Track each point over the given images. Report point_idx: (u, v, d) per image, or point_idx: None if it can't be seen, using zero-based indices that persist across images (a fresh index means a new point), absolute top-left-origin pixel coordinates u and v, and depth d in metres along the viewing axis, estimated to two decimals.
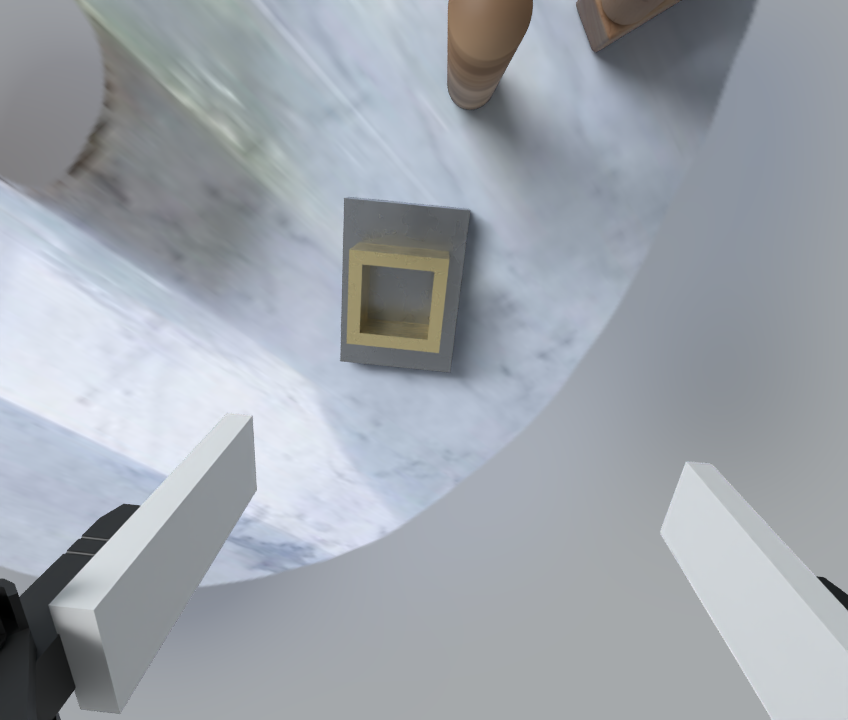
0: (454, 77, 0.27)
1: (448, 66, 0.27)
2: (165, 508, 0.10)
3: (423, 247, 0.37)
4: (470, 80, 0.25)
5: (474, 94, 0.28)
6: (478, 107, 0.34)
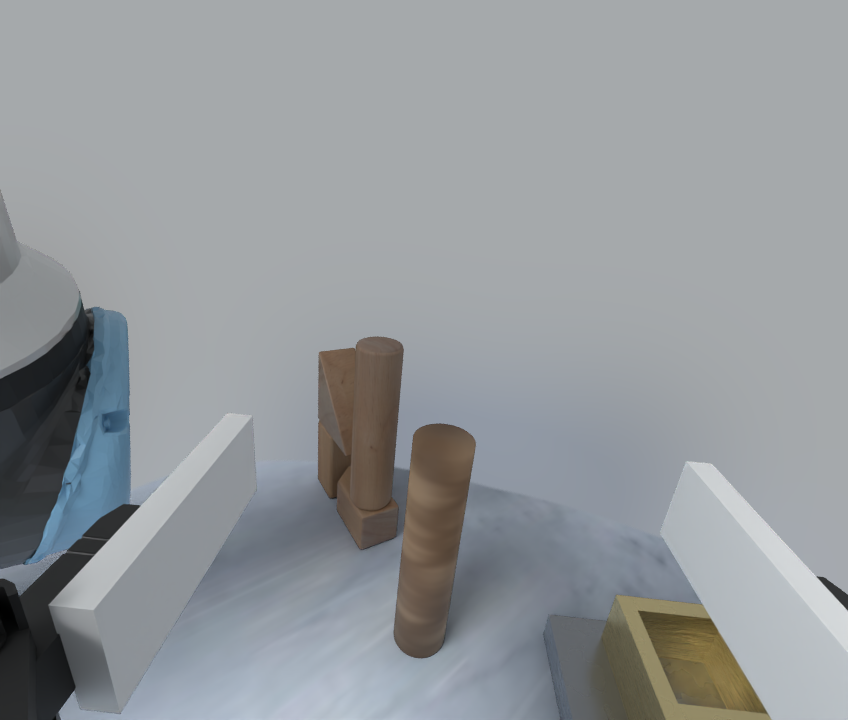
0: (451, 557, 0.28)
1: (439, 570, 0.27)
2: (165, 508, 0.10)
3: (609, 668, 0.29)
4: (463, 518, 0.27)
5: None
6: None
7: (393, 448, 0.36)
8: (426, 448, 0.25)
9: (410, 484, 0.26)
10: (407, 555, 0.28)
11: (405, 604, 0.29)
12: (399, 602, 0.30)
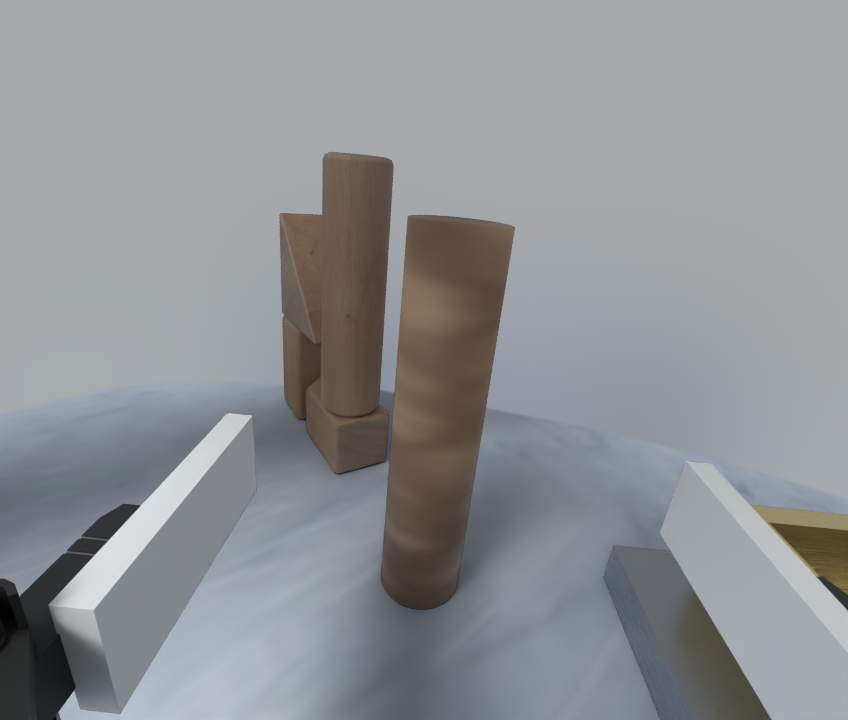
0: (472, 436, 0.17)
1: (452, 456, 0.17)
2: (165, 508, 0.10)
3: None
4: None
5: None
6: None
7: (380, 324, 0.26)
8: (431, 221, 0.14)
9: (404, 303, 0.16)
10: (400, 434, 0.17)
11: (397, 520, 0.18)
12: (388, 521, 0.19)
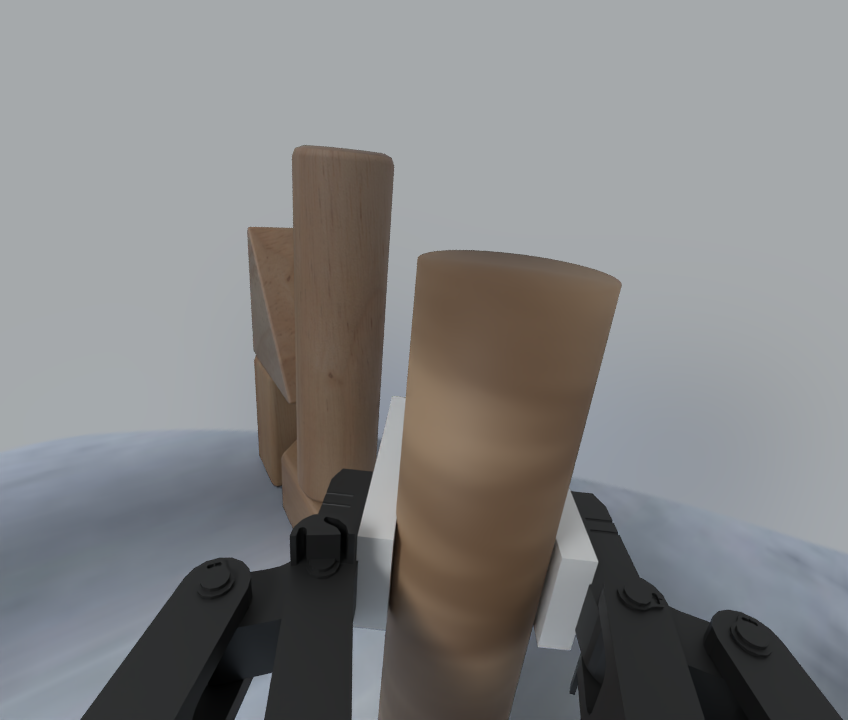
0: (525, 626, 0.10)
1: (492, 664, 0.10)
2: (394, 469, 0.12)
3: None
4: None
5: None
6: None
7: (376, 382, 0.19)
8: (465, 274, 0.07)
9: (410, 413, 0.09)
10: (403, 618, 0.10)
11: None
12: None
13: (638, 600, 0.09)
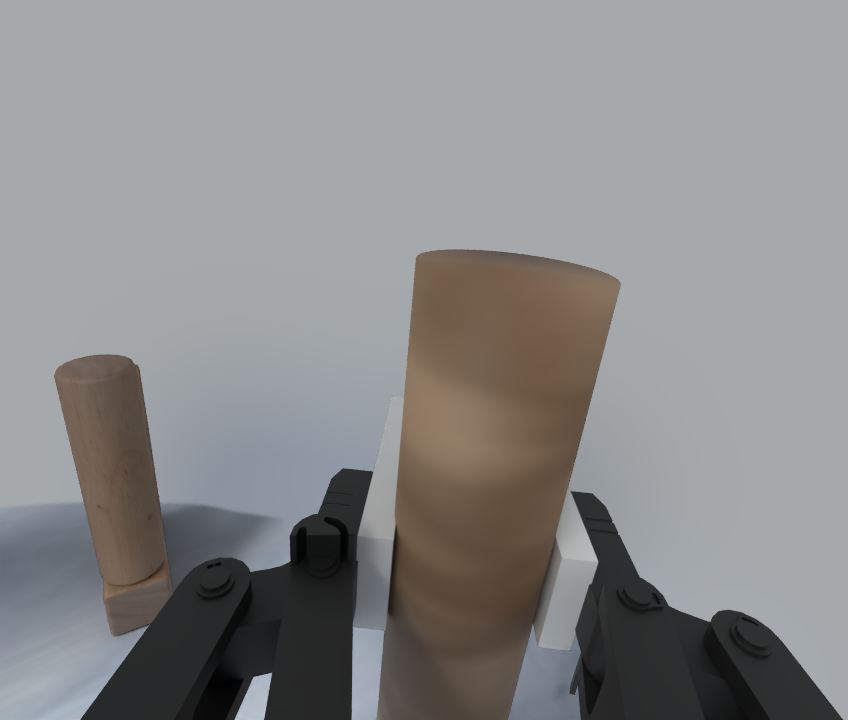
0: (524, 627, 0.10)
1: (491, 665, 0.10)
2: (394, 469, 0.12)
3: None
4: None
5: None
6: None
7: (142, 505, 0.27)
8: (462, 273, 0.07)
9: (408, 413, 0.09)
10: (402, 619, 0.10)
11: None
12: None
13: (638, 600, 0.09)
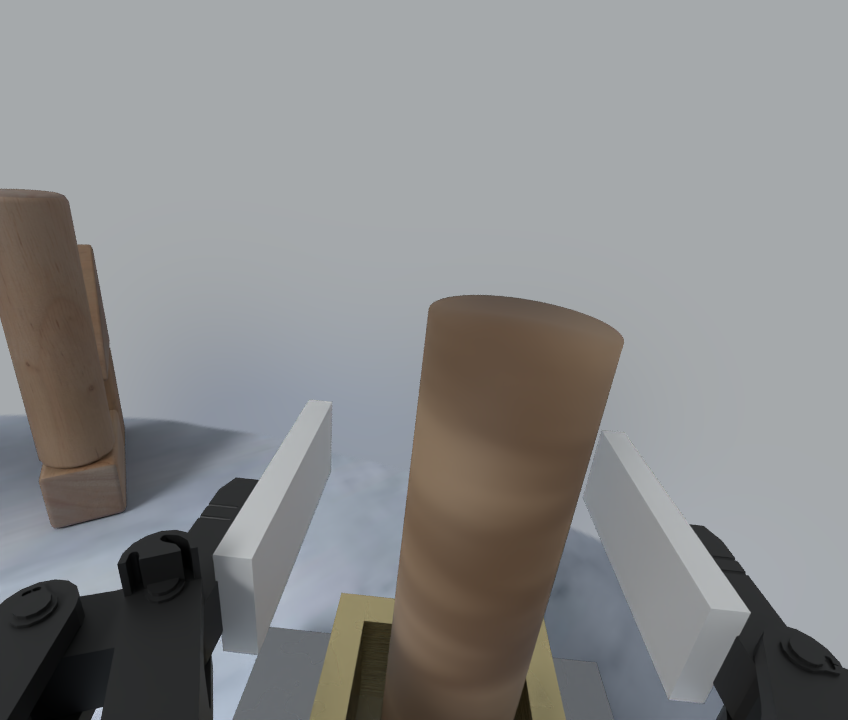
0: (525, 659, 0.10)
1: (493, 696, 0.10)
2: (282, 479, 0.11)
3: None
4: None
5: None
6: None
7: (80, 370, 0.24)
8: (475, 331, 0.08)
9: (418, 455, 0.09)
10: (407, 650, 0.10)
11: None
12: None
13: (807, 659, 0.08)
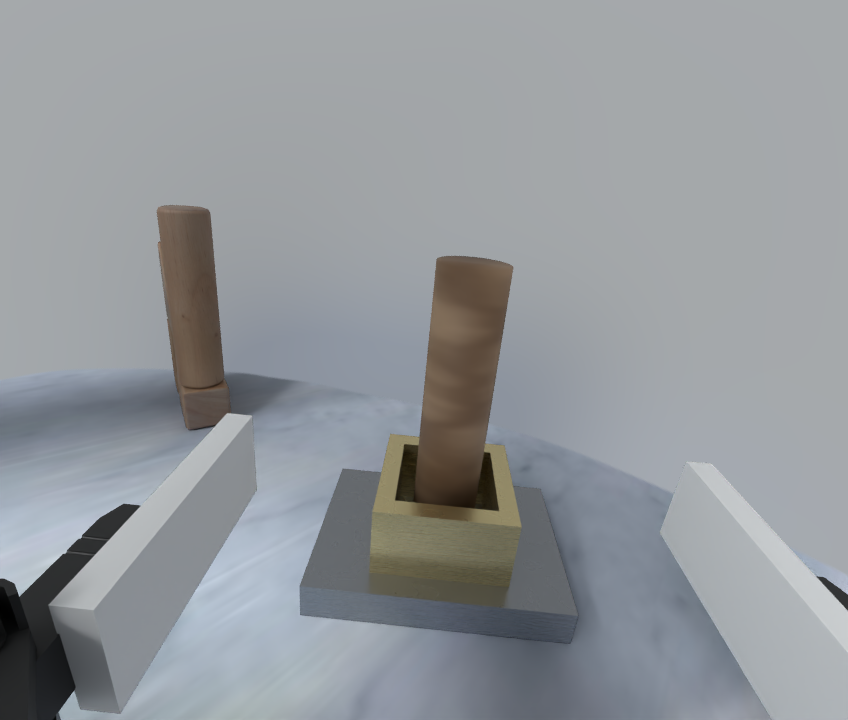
0: (482, 418, 0.23)
1: (468, 432, 0.23)
2: (165, 508, 0.10)
3: None
4: None
5: None
6: None
7: (212, 322, 0.36)
8: (454, 264, 0.20)
9: (433, 321, 0.22)
10: (429, 416, 0.23)
11: (426, 482, 0.24)
12: (418, 484, 0.25)
13: None
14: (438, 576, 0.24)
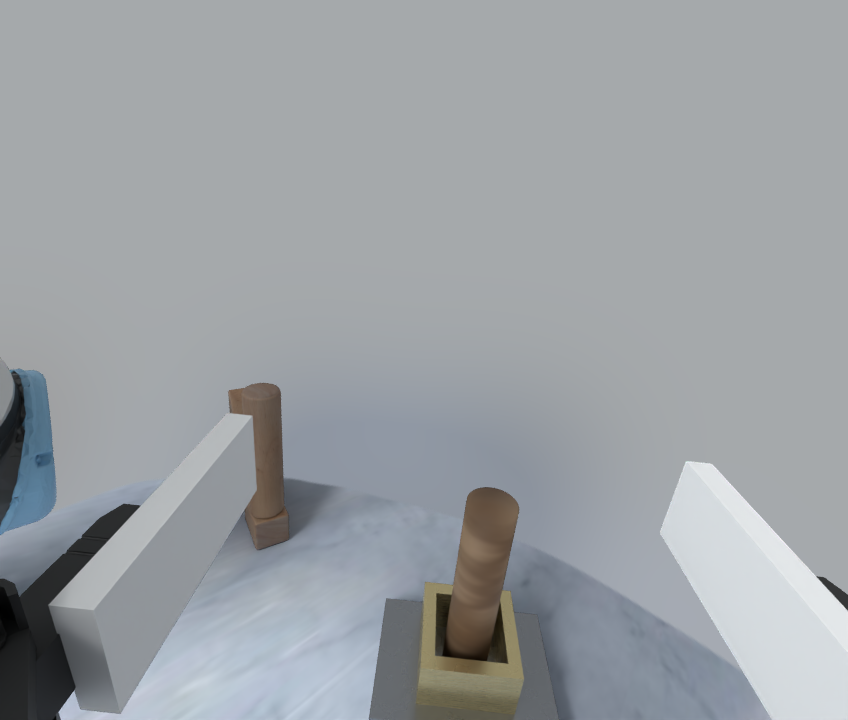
0: (496, 600, 0.33)
1: (486, 611, 0.33)
2: (165, 508, 0.10)
3: (418, 636, 0.39)
4: None
5: None
6: None
7: (278, 469, 0.46)
8: (479, 513, 0.30)
9: (463, 540, 0.31)
10: (459, 598, 0.33)
11: (455, 638, 0.34)
12: (449, 636, 0.35)
13: None
14: (464, 707, 0.34)
